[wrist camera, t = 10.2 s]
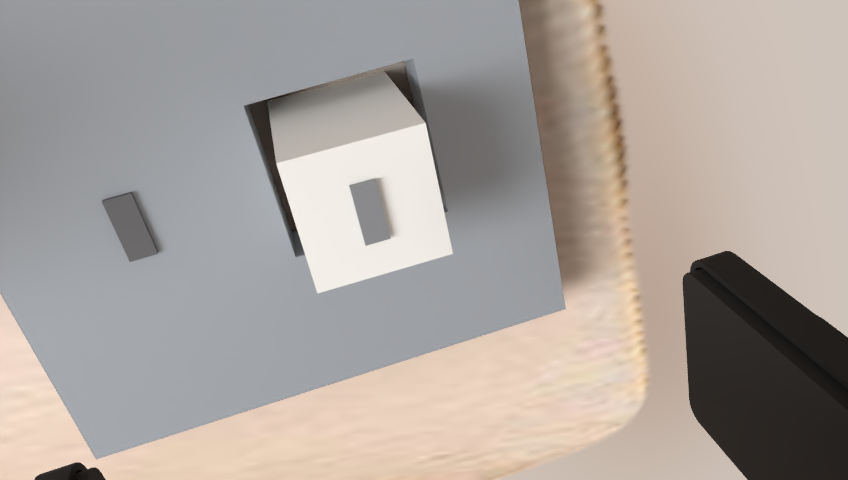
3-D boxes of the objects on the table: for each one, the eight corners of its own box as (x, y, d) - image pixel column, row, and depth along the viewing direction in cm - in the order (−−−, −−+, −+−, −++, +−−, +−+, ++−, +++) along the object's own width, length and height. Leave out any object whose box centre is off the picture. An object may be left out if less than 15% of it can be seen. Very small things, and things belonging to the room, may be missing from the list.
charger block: (267, 101, 28) (276, 165, 21) (383, 70, 28) (427, 124, 22) (300, 208, 30) (317, 296, 23) (408, 178, 30) (454, 256, 24)
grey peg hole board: (-132, -9, 23) (-172, 3, 21) (472, -159, 25) (495, -164, 23) (105, 421, 32) (95, 462, 29) (545, 282, 34) (567, 311, 31)
